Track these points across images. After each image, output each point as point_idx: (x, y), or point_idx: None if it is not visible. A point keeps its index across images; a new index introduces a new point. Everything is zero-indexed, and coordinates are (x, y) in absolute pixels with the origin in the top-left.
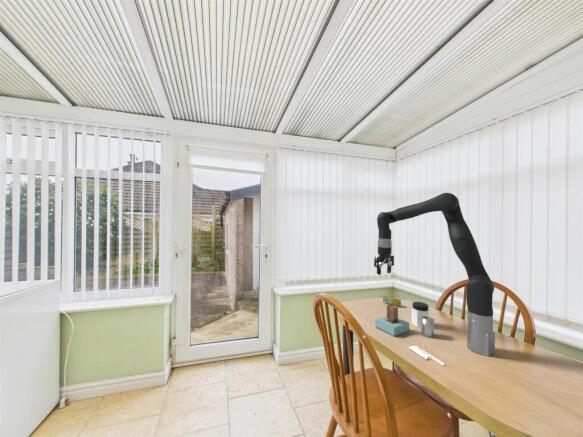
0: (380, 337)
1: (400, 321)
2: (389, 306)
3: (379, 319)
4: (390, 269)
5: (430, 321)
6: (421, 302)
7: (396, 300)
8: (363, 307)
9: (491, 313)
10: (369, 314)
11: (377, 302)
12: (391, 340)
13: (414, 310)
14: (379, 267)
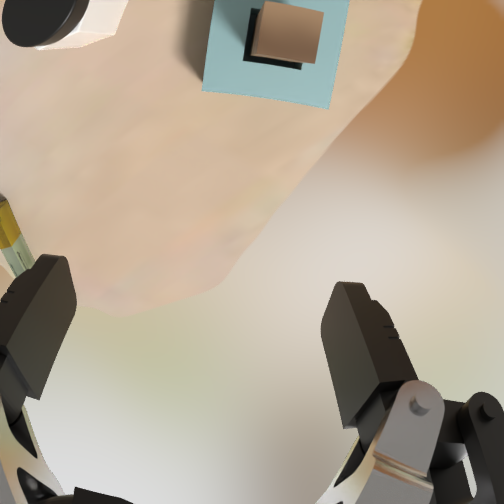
0: (381, 45)
1: (243, 7)
2: (314, 42)
3: (320, 91)
4: (22, 303)
5: None
6: (6, 24)
7: (1, 224)
8: (161, 272)
9: None
10: (203, 209)
11: None
12: (367, 3)
13: (90, 8)
14: (440, 399)
